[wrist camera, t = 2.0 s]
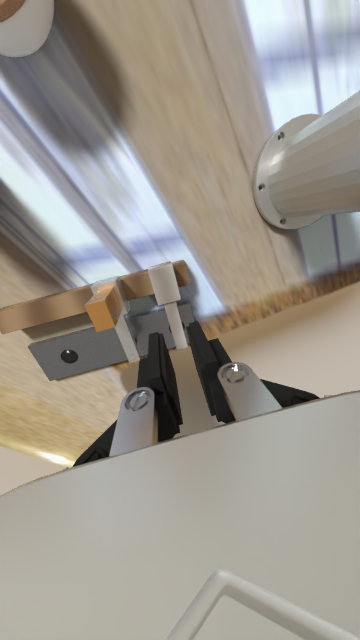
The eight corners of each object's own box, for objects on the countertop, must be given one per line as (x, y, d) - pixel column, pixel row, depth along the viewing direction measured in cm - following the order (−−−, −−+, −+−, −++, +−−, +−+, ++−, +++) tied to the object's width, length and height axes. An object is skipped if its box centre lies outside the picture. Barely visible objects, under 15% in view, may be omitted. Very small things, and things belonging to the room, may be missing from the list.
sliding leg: (120, 272, 29) (106, 292, 20) (145, 343, 33) (143, 383, 25) (99, 278, 29) (76, 300, 20) (128, 348, 33) (119, 390, 25)
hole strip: (189, 301, 33) (190, 303, 32) (197, 337, 36) (198, 340, 35) (31, 343, 33) (27, 347, 32) (52, 377, 36) (49, 381, 35)
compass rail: (181, 254, 30) (188, 260, 24) (197, 324, 35) (206, 343, 29) (1, 302, 30) (-35, 320, 24) (42, 366, 35) (20, 393, 29)
